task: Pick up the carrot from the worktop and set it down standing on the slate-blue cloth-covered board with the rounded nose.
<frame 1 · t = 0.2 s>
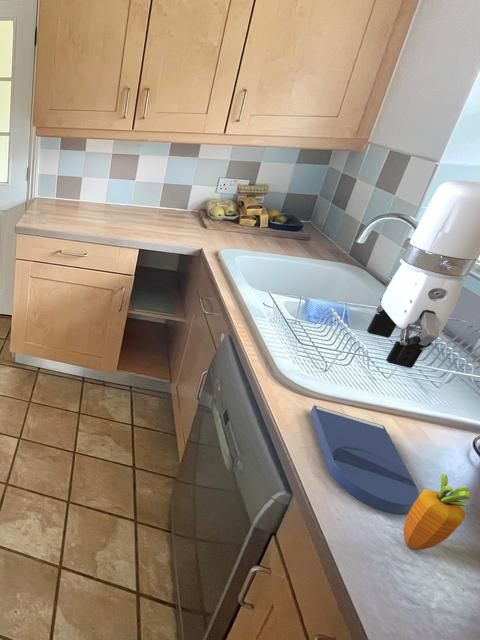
hand: (387, 348, 72), 25 cm above the worktop, tool pointing down, fingers open, 9 cm apart
board: (359, 462, 81), on the worktop
carrot: (408, 548, 66), on the worktop
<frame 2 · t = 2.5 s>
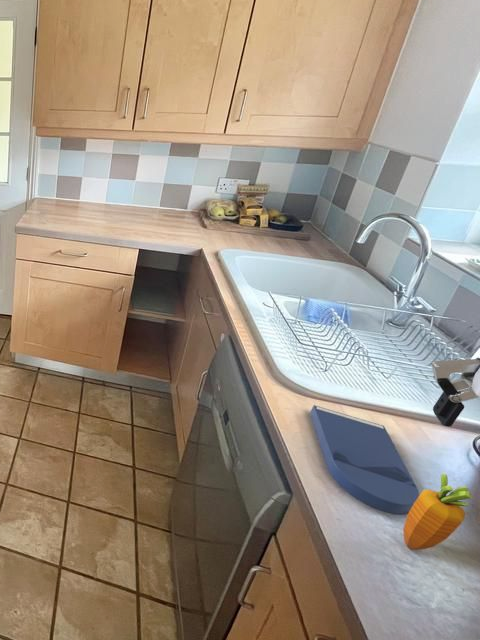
nothing on the worktop moved.
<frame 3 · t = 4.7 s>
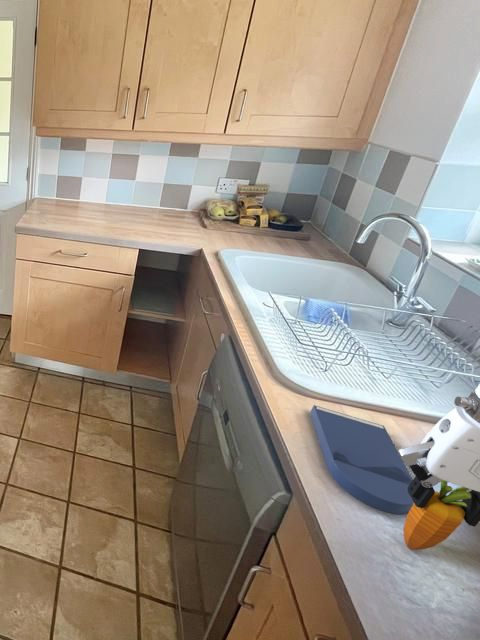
hand: (440, 507, 62), 10 cm above the worktop, tool pointing down, fingers closed on carrot, 4 cm apart
carrot: (408, 548, 66), on the worktop, touching gripper
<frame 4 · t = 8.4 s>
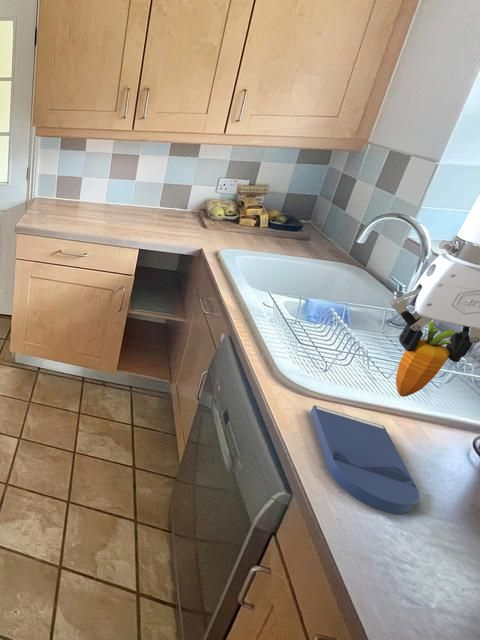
hand: (428, 351, 70), 27 cm above the worktop, tool pointing down, fingers closed on carrot, 4 cm apart
carrot: (400, 396, 74), point 17 cm above the worktop, touching gripper
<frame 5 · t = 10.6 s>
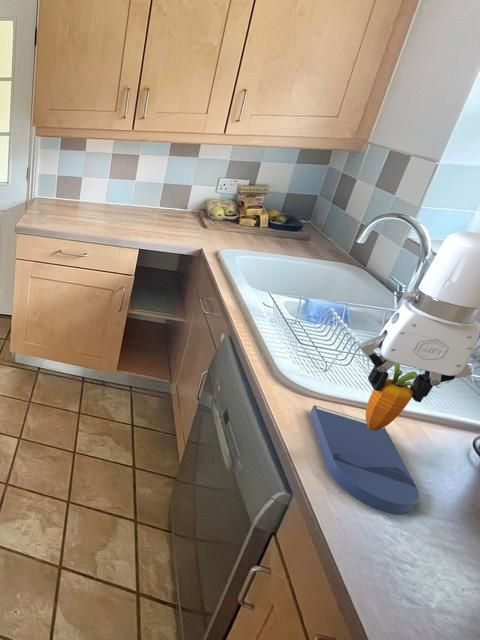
hand: (394, 390, 76), 16 cm above the worktop, tool pointing down, fingers closed on carrot, 4 cm apart
carrot: (370, 430, 80), point 6 cm above the worktop, touching gripper
when the fingers open (12 cm above the worktop, at t = 12.1 s): carrot stays where it is, resting on board.
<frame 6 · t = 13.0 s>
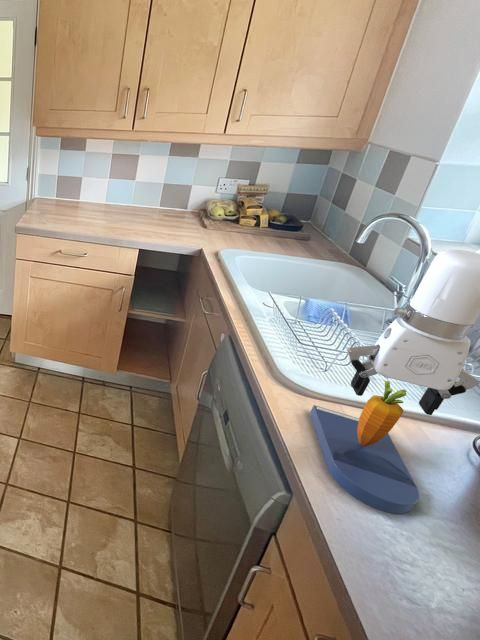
hand: (389, 400, 77), 14 cm above the worktop, tool pointing down, fingers open, 9 cm apart
carrot: (361, 446, 81), point 2 cm above the worktop, touching board
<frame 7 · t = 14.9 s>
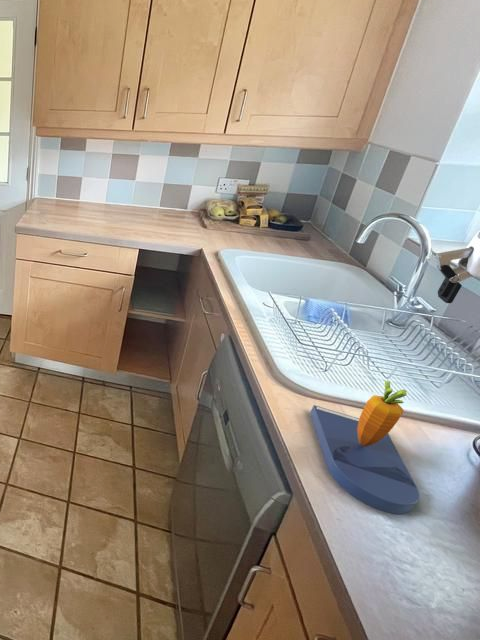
nothing on the worktop moved.
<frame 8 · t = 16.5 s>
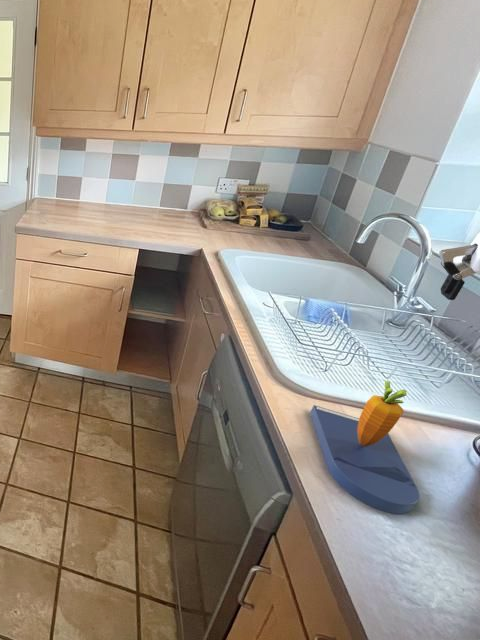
nothing on the worktop moved.
at the end: carrot inside the target area on the board (2.0 cm from its centre), point 2.3 cm above the board's base; carrot tilted 0°; the gripper is holding nothing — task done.
